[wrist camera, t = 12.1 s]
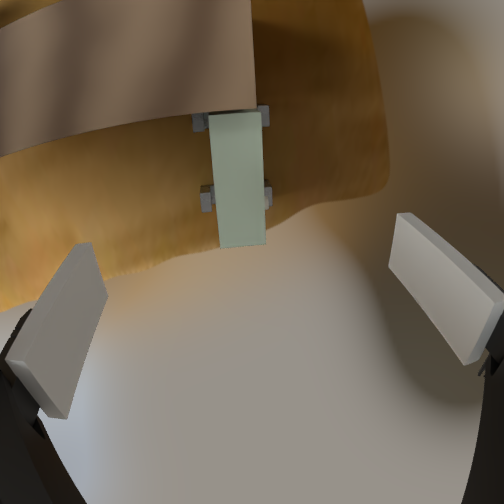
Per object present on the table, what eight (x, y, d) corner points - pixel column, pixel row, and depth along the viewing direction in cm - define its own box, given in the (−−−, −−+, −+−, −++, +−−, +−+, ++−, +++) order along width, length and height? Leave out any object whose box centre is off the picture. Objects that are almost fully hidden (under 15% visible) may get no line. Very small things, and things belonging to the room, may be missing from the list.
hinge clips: (202, 203, 33) (202, 212, 31) (193, 109, 28) (191, 111, 26) (268, 197, 34) (272, 206, 32) (264, 104, 29) (268, 105, 27)
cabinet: (39, 136, 27) (-42, 173, 15) (30, 60, 23) (-55, 63, 10) (239, 100, 29) (256, 108, 16) (234, 16, 24) (248, -34, 12)
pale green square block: (218, 203, 33) (220, 248, 24) (210, 108, 28) (208, 115, 20) (260, 199, 33) (278, 243, 25) (256, 104, 29) (275, 111, 20)
